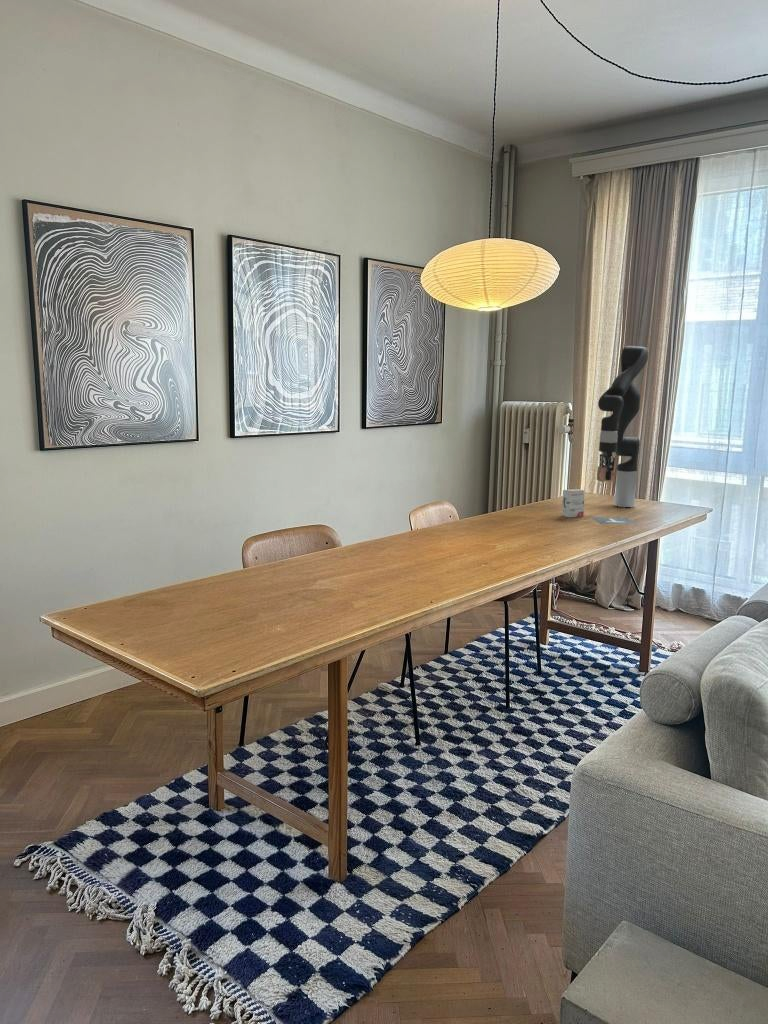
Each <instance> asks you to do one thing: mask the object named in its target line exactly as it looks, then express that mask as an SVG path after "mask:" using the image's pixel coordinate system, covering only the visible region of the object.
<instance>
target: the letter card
mask: <svg viewBox="0 0 768 1024" xmlns="http://www.w3.org/2000/svg"><path fill="white" fill-rule="evenodd" d="M621 517H622V518H621ZM589 518H591V519H592V520H594V521H595V522H597V523H598V524H600V525H638V523H636V522H635V521H633V520H631V519H629V518H628V517H626V516H589Z"/></svg>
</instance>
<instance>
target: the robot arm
mask: <svg viewBox="0 0 768 1024" xmlns="http://www.w3.org/2000/svg"><path fill="white" fill-rule="evenodd" d="M648 359H649V351H648V348H647V347H645V346H637V345H636V346H634V345H633V346H632V345H626V346H623V348H622V350H621V355H620V374H618V375H617V376H616V377H615V378H614V380H613V382H612V384H611V386H610V387H609V388H608V389H607V390H606V391H605V392H603V394H602V395H601V396H600V398H599V400H598V403H597V406H598V408H599V410H600V411H602V412H611V415H609V416H604V417H602V418H601V423H600V434H599V441H598V443H599V446H598V451H599V452H600V454H599V464H598V466H605V467H606V477H605V479H606V480H611V471H613V470H614V468H615V460H616V457H615V456H613V453H615V455H616V456H617V457H630V458H629V460H627V461H624V462H619V463H618V464H617V465H616V477H615V478H616V479H615V492H614V503H613V504H614V506H615V507H617V506H618V508H625V507H631V508H634V507H635V502H636V489H637V480H638V479H637V478H638V477H637V476H638V462H639V454H640V447H641V443H640V442H641V441H640V438H639V437H637V436H624V435H625V432H626V430H627V428H628V426H629V425H630V423H631V422H632V421H633V420H634V419H635V417H636V416H637V414H638V413H639V411H640V406H641V393H640V391H639V389H638V387H637V385H636V383H635V382H634V380H635V379H636V377H637V376H638V375H639V374H640V372H641V371H642V370H643V369H644V367H645V366H646V364H647V362H648V361H649V360H648ZM609 467H610V468H609Z"/></svg>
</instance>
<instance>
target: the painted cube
mask: <svg viewBox="0 0 768 1024" xmlns="http://www.w3.org/2000/svg"><path fill="white" fill-rule="evenodd" d="M596 468H597V470H596V481H598V482H604V483H606V482H612V483H614V482H615V480H616V479H615V478H616V477H615V475H616V467H614V470H613V471H611V480H606V479H605V477H606V467H605V466H599V465H598V466H597V467H596ZM609 468H610V467H609Z"/></svg>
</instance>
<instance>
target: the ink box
mask: <svg viewBox="0 0 768 1024" xmlns="http://www.w3.org/2000/svg"><path fill="white" fill-rule="evenodd" d="M584 505H585V490H584V489H580V488H579V489H563V490H562V504H561V516H563V517H566V518H575V517H584V511H585V508H584V507H585V506H584Z"/></svg>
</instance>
